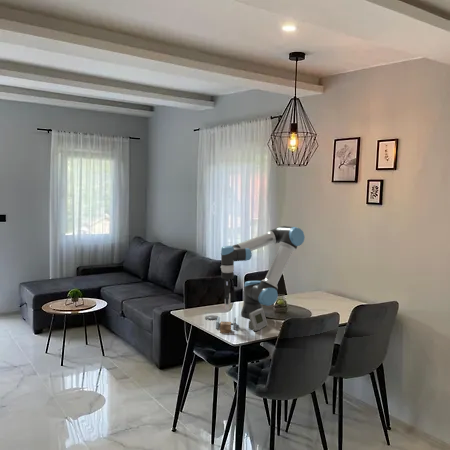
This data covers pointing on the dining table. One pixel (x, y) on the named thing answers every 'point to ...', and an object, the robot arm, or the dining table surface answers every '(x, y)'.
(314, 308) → the dining table surface
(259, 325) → the digital clock
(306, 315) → the dining table surface
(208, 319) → the coaster
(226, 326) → the block
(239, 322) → the dining table surface
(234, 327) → the channel
